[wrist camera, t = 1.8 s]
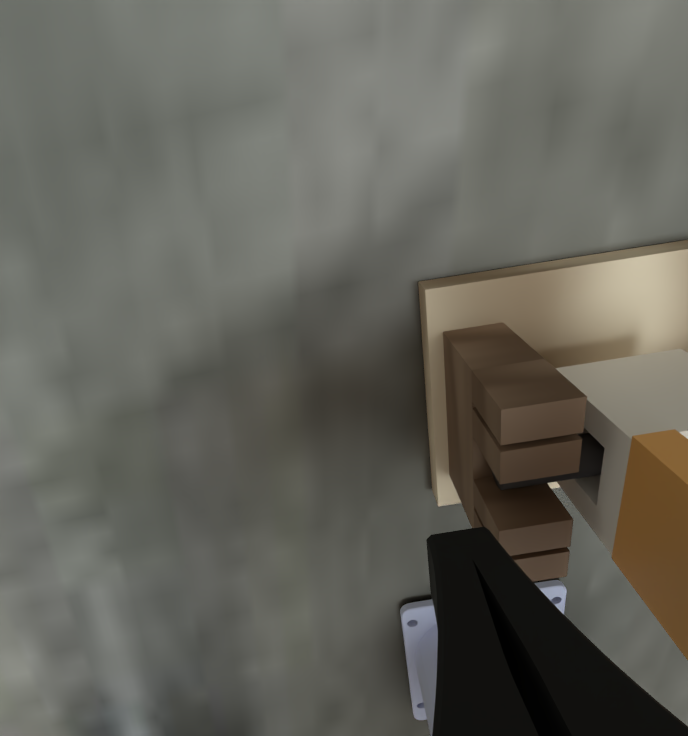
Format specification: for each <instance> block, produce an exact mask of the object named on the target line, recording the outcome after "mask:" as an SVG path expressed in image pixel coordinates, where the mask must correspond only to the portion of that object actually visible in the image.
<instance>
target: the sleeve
mask: <svg viewBox="0 0 688 736" xmlns="http://www.w3.org/2000/svg"><path fill="white" fill-rule="evenodd" d="M555 369H557V370H558V371H559V372H560V373H561V374H562V375H563V376H564V377H566V378H567V379H568V380H569V381H570V382H571V383H572V384H574V385H575V386H576V387H577V388H578V389H579V390H580V391H581V392H583V393H584V394H585V395H586V396H587V402H586V411H585V420H584V429H583V433H577V434H584V433H590V434H591V435H592V436H593V437H594V438H595V439H596V440H597V441H598V442H599V443H600V444H601V445H602V446H603V447H604V448H605V449H604V456H603V463H602V470H601V475H595V476H589V477H582V478H576V479H570V480H563V481H557V483H558V484H559V485H560V487H561V488H562V489H563V491H564V492H565V493H566V495H567V496H568V497H569V499H570V500H571V501H572V503H573V504H574V505H575V507H576V508H577V509H578V511H579V512H580V513H581V515H582V516H583V517H584V519H585V520H586V521H587V523H588V524H589V525H590V527H591V528H592V529H593V531H594V532H595V533H596V535H597V536H598V537H599V539H600V540H601V541H602V543H603V544H604V545H605V547H606V548H607V549H608V551H609V552H610V553H611V555H612V559H613V561H614V562H615V563H616V565H617V566H618V567H619V569H620V570H621V571H622V573H623V574H624V575H625V577H626V578H627V579H628V581H629V582H630V583H631V585H632V586H633V588H634V589H635V590H636V592H637V593H638V594H639V596H640V597H641V598H642V600H643V601H644V602H645V604H646V605H647V606H648V608H649V609H650V610H651V612H652V613H653V614H654V616H655V617H656V618H657V620H658V621H659V622H660V624H661V625H662V626H663V628H664V629H665V630H666V632H667V633H668V635H669V636H670V637H671V639H672V640H673V641H674V643H675V644H676V645H677V647H678V648H679V649H680V651H681V652H682V653H683V655H684V656H685V657H686V659H687V660H688V352H686V351H684V350H682V349H675V350H669V351H662V352H656V353H649V354H643V355H637V356H630V357H624V358H617V359H611V360H605V361H598V362H592V363H586V364H579V365H573V366H566V367H560V368H555Z"/></svg>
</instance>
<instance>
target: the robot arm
mask: <svg viewBox="0 0 688 736" xmlns="http://www.w3.org/2000/svg"><path fill="white" fill-rule="evenodd" d="M427 550H428V563H429V576H430V588H431V596H432V599H431V600H424V601H418V602H412V603H407V604H405V605H403V606H402V608H401V609H400V615H401V623H402V631H403V639H404V647H405V654H406V662H407V670H408V678H409V686H410V694H411V702H412V710H413V715H414V718H415V719H417V720H427V722H428V727H429V731H430V736H688V726H686V725H685V724H684V723H683V722H682V721H680V720H679V719H678V718H677V717H676V716H674V715H673V714H672V713H671V712H670V711H668V710H667V709H666V708H665V707H663V706H662V705H661V704H660V703H659V702H657V701H656V700H655V699H654V698H653V697H652V696H650V695H649V694H648V693H647V692H646V691H645V690H644V689H642V688H641V687H640V686H639V685H638V684H637V683H635V682H634V681H633V680H632V679H631V678H630V677H629V676H627V675H626V674H625V673H624V672H623V671H622V670H621V669H620V668H619V667H617V666H616V665H615V664H614V663H613V662H612V661H611V660H610V659H609V658H608V657H607V656H606V655H605V654H603V653H602V652H601V651H600V650H599V649H598V648H597V647H596V646H595V645H594V644H593V643H592V642H591V641H590V640H589V639H588V638H587V637H586V636H585V635H584V634H583V633H582V632H581V631H579V630H578V629H577V628H576V627H575V626H574V624H573V623H572V622H571V621H570V620H569V619H568V618H567V617H566V616H565V615H564V610H565V601H566V592H567V590H566V587H565V586H564V584H563V583H562V582H561V581H559V580H550V581H544V582H538V583H533V581H532V580H531V579H530V578H529V577H528V576H527V575H526V574H525V573H524V571H523V570H522V569H521V568H520V567H519V566H518V565H517V563H516V562H515V561H514V560H513V559H512V558H511V556H510V555H509V554H508V553H507V552H506V550H505V549H504V548H503V547H502V546H501V544H500V543H499V542H498V541H497V539H496V538H495V537H494V536H493V534H492V533H491V532H490V530H489V529H487V528H486V527H478V528H472V529H466V530H459V531H453V532H447V533H440V534H434V535H431V536H430V537H429V538H428V539H427Z"/></svg>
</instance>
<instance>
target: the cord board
mask: <svg viewBox="0 0 688 736" xmlns="http://www.w3.org/2000/svg"><path fill="white" fill-rule="evenodd" d="M418 285H419V300H420V315H421V330H422V345H423V360H424V375H425V390H426V405H427V420H428V435H429V449H430V464H431V479H432V491H433V493H434V496H435V499H436V501H437V504H438V507H439V506H445V505H451V504H458V503H462V505H463V508H464V510H465V512H466V515H467V517H468V519H469V521H470V524H471V526H472V528H478V527H486V528H487V529H489V530H490V532H491V533H492V534H493V536H494V537H495V538H496V539H497V541H498V542H499V543H500V544H501V546H502V547H503V548H504V549H505V550H506V552H507V553H508V554H509V555H510V556H511V558H512V559H513V560H514V561H515V562H516V563H517V565H518V566H519V567H520V568H521V569H522V570H523V571H524V573H525V574H526V575H527V576H528V577H529V578H530V579H531V580H532V581H533V582H534V581H541V580H547V579H553V578H559V577H566V576H567V570H568V561H569V553H570V551H569V550H568V548H567V547H570V544H571V535H572V526H573V518H572V517H571V516H570V514H569V513H568V511H567V510H566V509H565V507H564V506H563V505H562V503H561V502H560V500H559V499H558V498H557V496H556V495H555V493H554V492H553V491H552V489H553V488H559V487H560V485H559V484H558V483H557V481H563V480H570V479H576V478H582V477H589V476H595V475H601V470H602V463H603V456H604V449H605V448H604V447H603V446H602V445H601V444H600V443H599V442H598V441H597V440H596V439H595V438H594V437H593V436H592V435H591V434H590V433H584V434H577V433H583V429H584V420H585V411H586V402H587V396H586V395H585V394H584V393H583V392H581V391H580V390H579V389H578V388H577V387H576V386H575V385H574V384H572V383H571V382H570V381H569V380H568V379H567V378H566V377H564V376H563V375H562V374H561V373H560V372H559V371H558V370H557V369H555V368H560V367H566V366H573V365H579V364H586V363H592V362H598V361H605V360H611V359H617V358H624V357H630V356H637V355H643V354H649V353H656V352H662V351H669V350H675V349H682V350H684V351H686V352H688V240H683V241H676V242H670V243H664V244H657V245H651V246H644V247H638V248H631V249H625V250H619V251H612V252H606V253H599V254H593V255H586V256H580V257H574V258H567V259H561V260H554V261H548V262H541V263H535V264H528V265H522V266H516V267H509V268H503V269H496V270H490V271H483V272H477V273H471V274H464V275H458V276H451V277H445V278H438V279H432V280H426V281H419V282H418Z"/></svg>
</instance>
